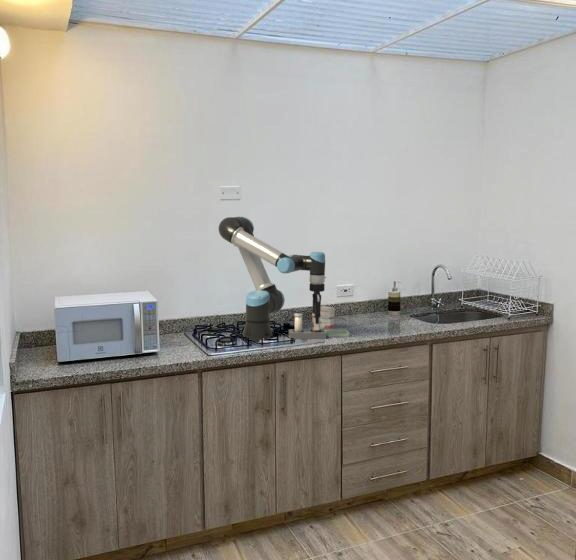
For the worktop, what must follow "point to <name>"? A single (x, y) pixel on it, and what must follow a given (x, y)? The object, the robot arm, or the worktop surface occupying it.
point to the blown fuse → (313, 324)
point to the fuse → (298, 322)
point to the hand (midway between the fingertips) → (315, 328)
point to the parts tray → (337, 333)
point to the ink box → (327, 317)
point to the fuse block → (307, 334)
